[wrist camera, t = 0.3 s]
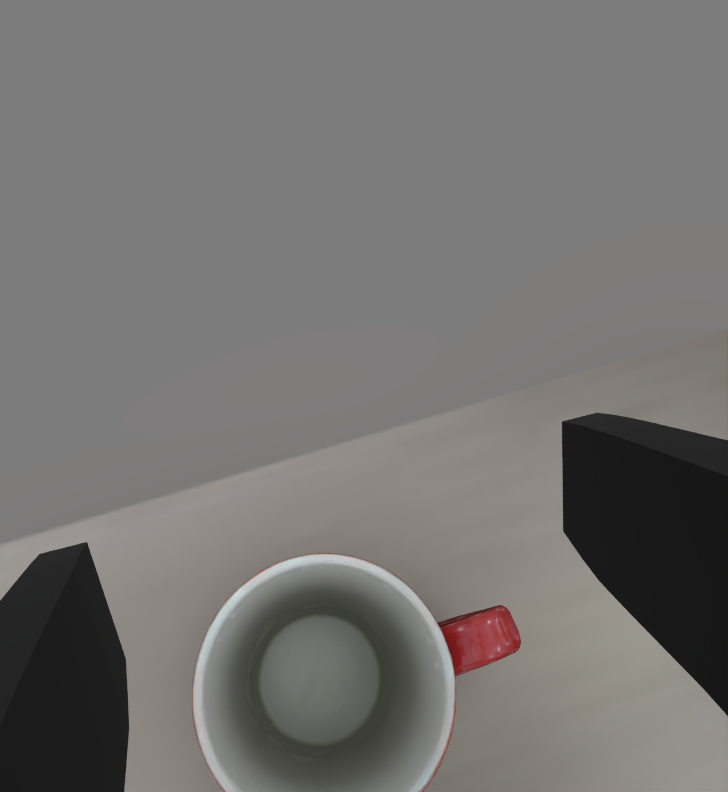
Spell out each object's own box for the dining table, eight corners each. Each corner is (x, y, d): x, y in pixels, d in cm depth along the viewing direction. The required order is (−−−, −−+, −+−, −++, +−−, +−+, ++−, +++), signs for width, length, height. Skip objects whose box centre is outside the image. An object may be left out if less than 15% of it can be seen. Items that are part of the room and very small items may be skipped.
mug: (245, 800, 34) (213, 879, 21) (215, 610, 37) (173, 582, 24) (489, 732, 36) (591, 768, 23) (443, 558, 39) (511, 508, 26)
